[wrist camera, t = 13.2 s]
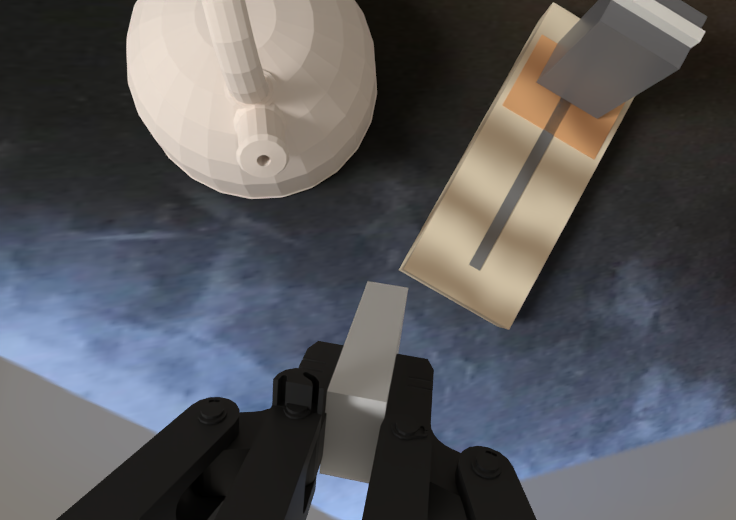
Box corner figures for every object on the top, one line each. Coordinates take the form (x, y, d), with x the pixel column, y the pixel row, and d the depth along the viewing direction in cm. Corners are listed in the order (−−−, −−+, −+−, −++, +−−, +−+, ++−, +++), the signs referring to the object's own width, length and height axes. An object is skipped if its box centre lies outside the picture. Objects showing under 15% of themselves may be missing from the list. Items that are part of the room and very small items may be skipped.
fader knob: (597, 118, 42) (688, 63, 31) (536, 82, 42) (606, 13, 31) (619, 78, 42) (716, 10, 32) (558, 42, 42) (636, -40, 31)
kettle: (165, 223, 43) (43, 182, 25) (121, -13, 43) (-31, -222, 25) (397, 180, 44) (442, 113, 26) (352, -47, 45) (365, -267, 27)
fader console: (497, 326, 44) (509, 329, 41) (398, 269, 44) (403, 269, 41) (631, 76, 46) (653, 62, 43) (538, 20, 45) (553, 1, 42)
